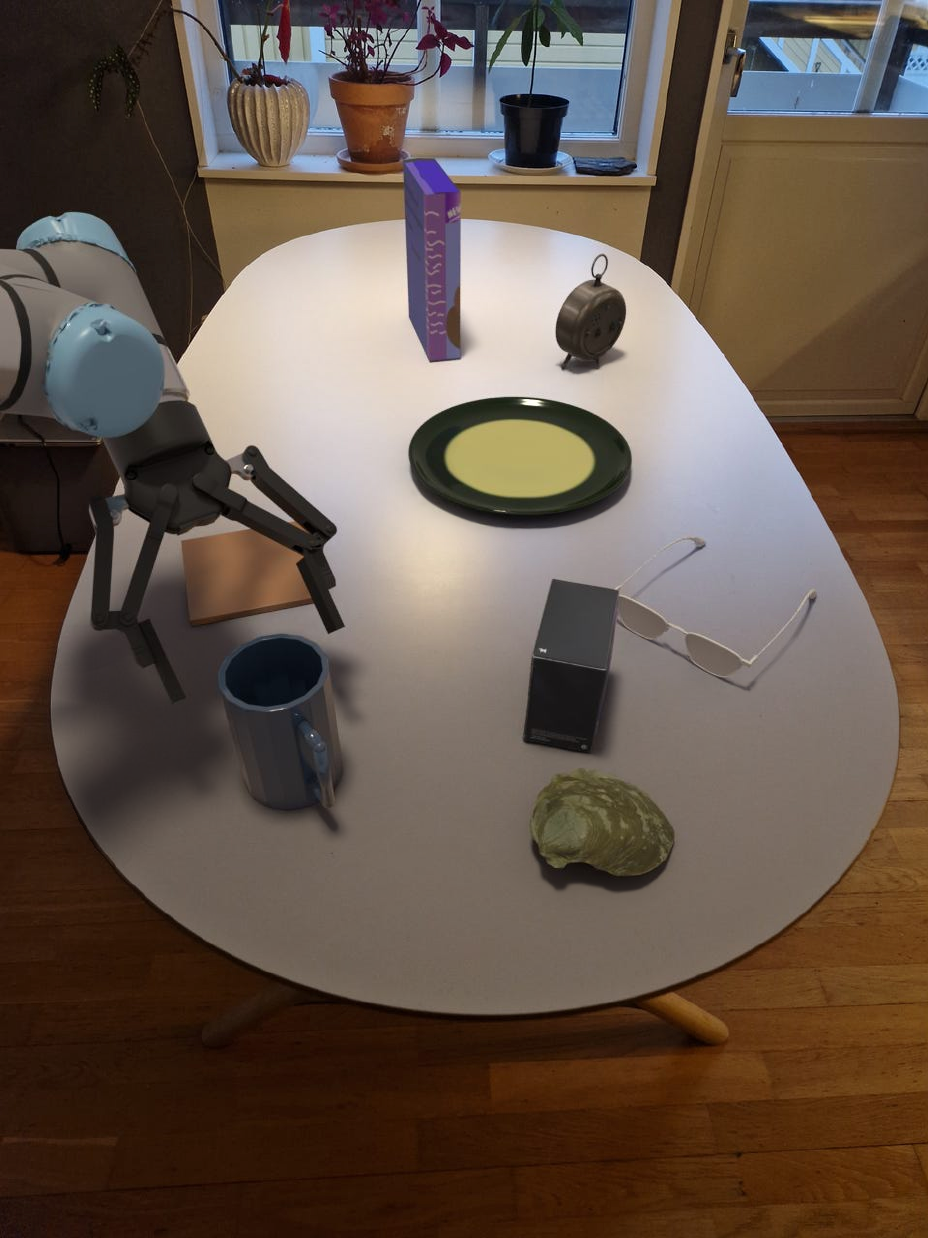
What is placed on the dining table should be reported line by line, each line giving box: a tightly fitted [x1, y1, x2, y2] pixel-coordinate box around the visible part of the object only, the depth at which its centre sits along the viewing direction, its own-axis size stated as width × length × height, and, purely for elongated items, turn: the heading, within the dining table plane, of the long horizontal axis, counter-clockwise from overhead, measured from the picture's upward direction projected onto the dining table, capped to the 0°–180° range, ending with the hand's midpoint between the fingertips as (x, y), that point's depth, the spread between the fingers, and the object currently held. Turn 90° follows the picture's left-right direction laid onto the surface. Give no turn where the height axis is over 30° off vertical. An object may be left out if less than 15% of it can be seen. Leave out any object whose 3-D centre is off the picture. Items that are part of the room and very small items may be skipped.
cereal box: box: [402, 157, 462, 363], centre depth 130 cm, size 17×5×24 cm, turn 13°
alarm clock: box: [555, 253, 627, 370], centre depth 126 cm, size 11×5×16 cm, turn 129°
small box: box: [522, 578, 620, 753], centre depth 75 cm, size 11×6×10 cm, turn 167°
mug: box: [218, 633, 343, 811], centre depth 68 cm, size 11×8×12 cm
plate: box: [407, 396, 633, 516], centre depth 109 cm, size 28×28×2 cm
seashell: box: [529, 767, 676, 877], centre depth 67 cm, size 10×7×10 cm
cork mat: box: [180, 520, 314, 627], centre depth 93 cm, size 14×14×1 cm
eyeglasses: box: [614, 535, 818, 678], centre depth 88 cm, size 15×18×4 cm
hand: (261, 664), depth 68 cm, fingers open, 13 cm apart
